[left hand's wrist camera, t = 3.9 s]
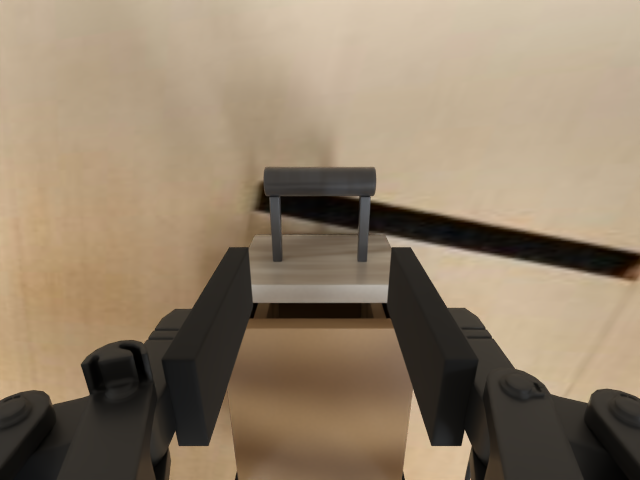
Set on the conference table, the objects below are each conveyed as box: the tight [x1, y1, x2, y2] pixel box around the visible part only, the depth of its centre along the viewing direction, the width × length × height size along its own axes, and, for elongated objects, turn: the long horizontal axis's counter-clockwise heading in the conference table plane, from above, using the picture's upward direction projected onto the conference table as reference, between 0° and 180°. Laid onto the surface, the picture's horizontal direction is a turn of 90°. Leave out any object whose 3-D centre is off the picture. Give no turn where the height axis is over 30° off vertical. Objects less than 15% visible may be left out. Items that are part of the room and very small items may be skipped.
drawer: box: [249, 167, 391, 319], centre depth 26 cm, size 25×10×8 cm, turn 0°
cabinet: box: [227, 303, 413, 480], centre depth 28 cm, size 21×11×10 cm, turn 0°
